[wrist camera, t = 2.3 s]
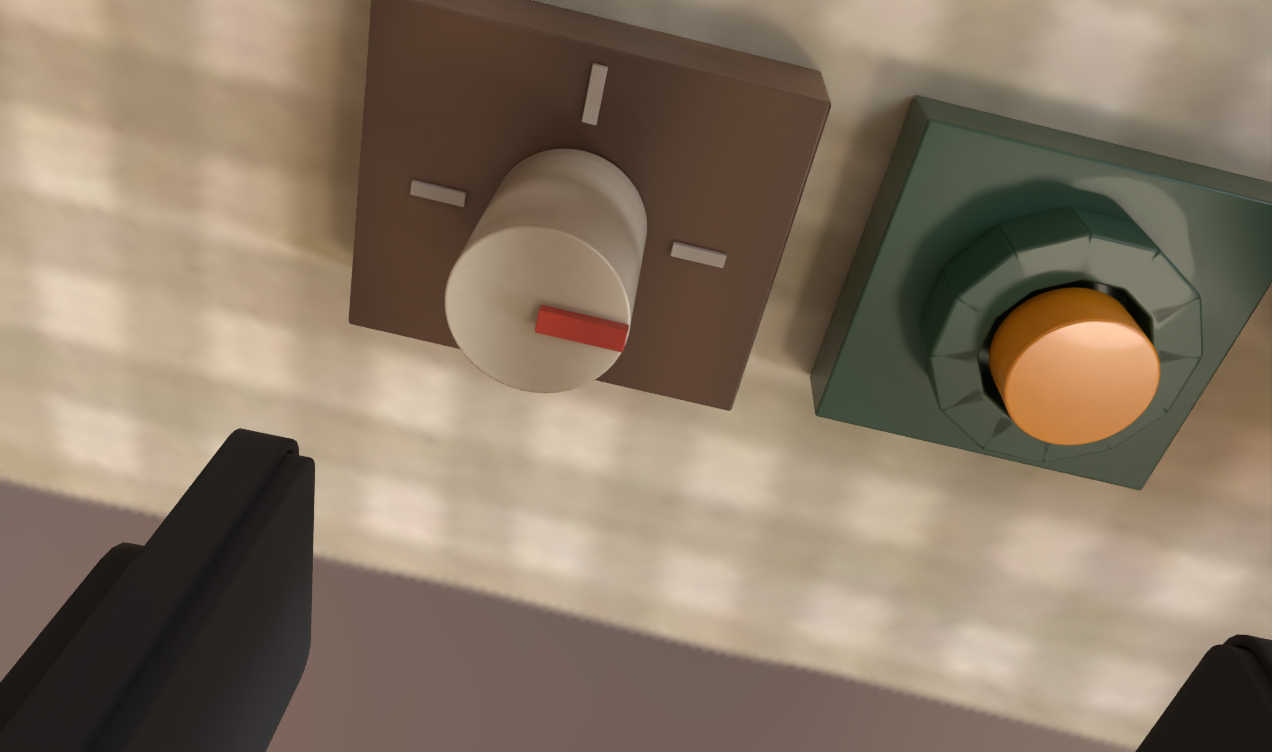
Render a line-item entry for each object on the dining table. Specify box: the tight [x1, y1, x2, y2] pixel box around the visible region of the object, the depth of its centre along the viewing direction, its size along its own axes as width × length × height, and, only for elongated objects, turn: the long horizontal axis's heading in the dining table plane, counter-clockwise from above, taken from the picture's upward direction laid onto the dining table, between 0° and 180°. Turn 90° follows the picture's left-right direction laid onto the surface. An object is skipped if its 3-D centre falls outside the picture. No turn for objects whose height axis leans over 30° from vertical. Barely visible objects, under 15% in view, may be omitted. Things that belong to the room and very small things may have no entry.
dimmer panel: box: [349, 0, 831, 411], centre depth 26 cm, size 11×9×3 cm
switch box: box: [810, 96, 1272, 490], centre depth 27 cm, size 10×9×4 cm
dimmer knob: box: [445, 149, 647, 393], centre depth 23 cm, size 4×4×5 cm
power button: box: [989, 287, 1160, 445], centre depth 24 cm, size 4×4×2 cm
